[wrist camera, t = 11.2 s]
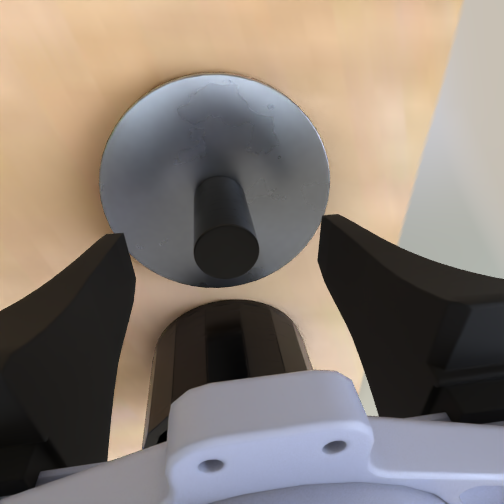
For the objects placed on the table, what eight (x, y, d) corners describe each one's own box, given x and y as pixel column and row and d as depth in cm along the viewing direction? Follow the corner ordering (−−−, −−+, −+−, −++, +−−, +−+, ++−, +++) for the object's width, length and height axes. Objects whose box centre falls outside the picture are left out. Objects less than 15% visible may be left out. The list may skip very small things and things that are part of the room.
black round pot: (143, 393, 25) (129, 493, 20) (171, 287, 20) (163, 382, 15) (272, 403, 28) (289, 493, 23) (324, 312, 23) (362, 400, 18)
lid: (93, 256, 18) (60, 336, 14) (119, 29, 13) (79, 36, 9) (279, 289, 21) (302, 364, 17) (360, 115, 16) (426, 154, 12)
